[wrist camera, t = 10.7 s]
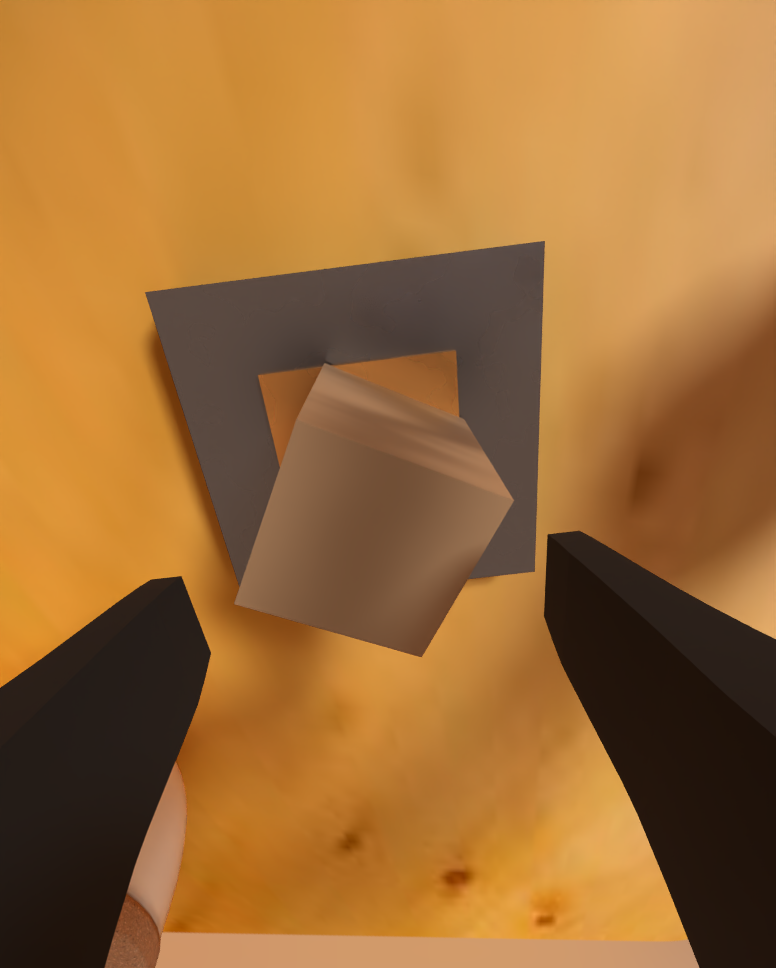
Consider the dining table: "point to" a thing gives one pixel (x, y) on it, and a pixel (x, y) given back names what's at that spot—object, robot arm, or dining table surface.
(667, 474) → the dining table surface
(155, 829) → the lidded bowl
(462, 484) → the taupe wooden cube
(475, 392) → the grey square picture frame
